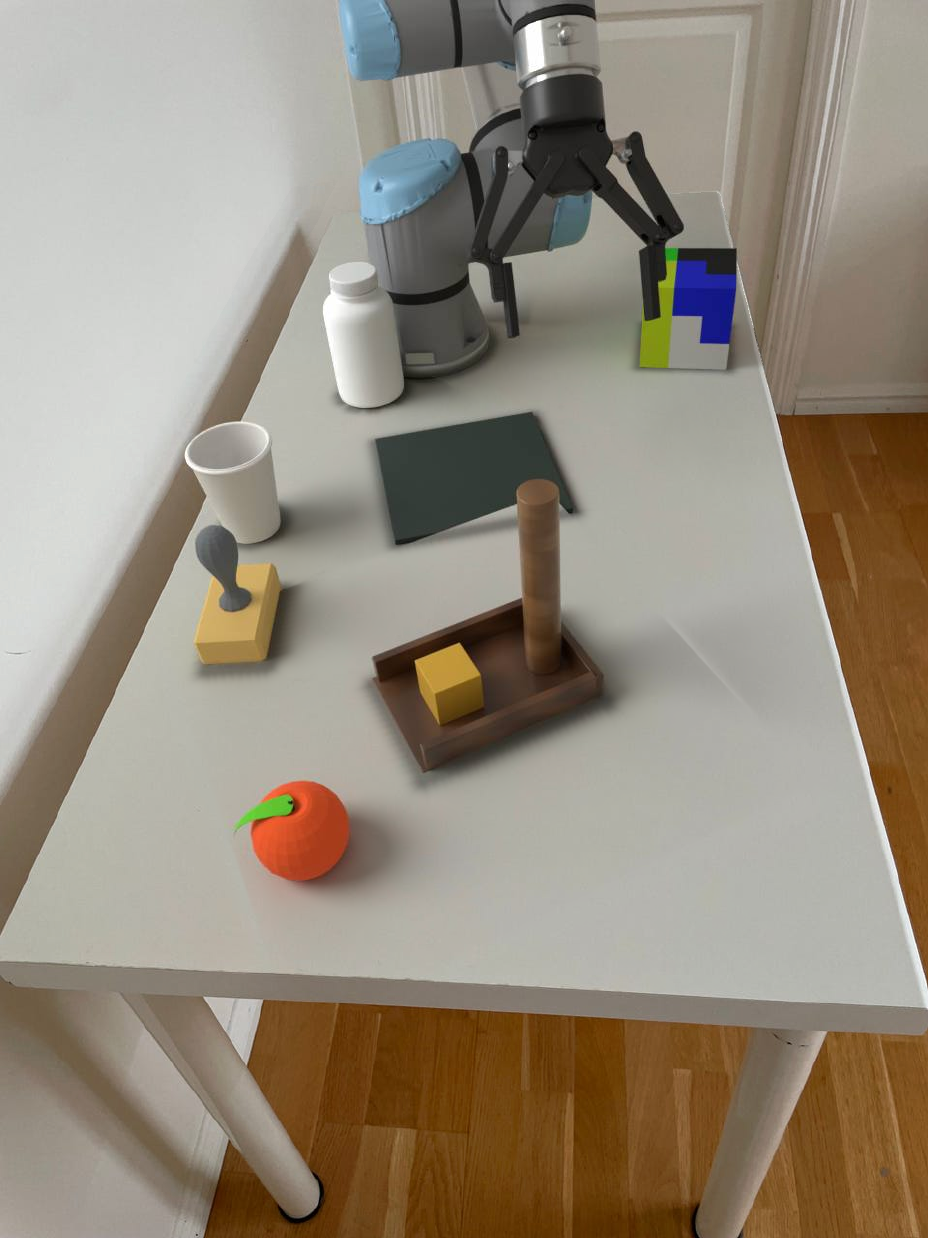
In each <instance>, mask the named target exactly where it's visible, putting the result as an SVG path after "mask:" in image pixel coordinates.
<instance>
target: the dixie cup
mask: <svg viewBox="0 0 928 1238" xmlns="http://www.w3.org/2000/svg"><path fill="white" fill-rule="evenodd" d="M272 446H273V438H272V435H271V433H270V431H269V430H268V429H267V428H265V427H264V426H262V425H260V424H257V423H254V422H250V421H229V422H224V423H220V424H216V425H214V426H211V427H209V428H207V429H205V430H203V431H201V432H200V433H199V434H197V435H196V436H195V437H193V438H192V440H190V442H189V443H188V445H187V447H186V449H185V452H184V459H185V462H186V464H187V465H188V467H190V469H192V470H193V472H194V475H195V477H196V478H197V480H198V483H199V485H200V486H201V488H202V490H203V492H204V494H205V496H206V498H207V499H208V502H209V504H210V505H211V507H212V509H213V511H214V512H215V515H216V516H217V518H218V520H219V522H220V524H221V526H223V527H224V528H226V529H227V530H229V531H230V532H231V533H232V534H233V535H234V537H235V539H236V542H237V544H242V545H243V544H244V545H250V544H257V543H260V542H263V541H266V540H267V539H270V538H271V537H273V535H275V534H276V533H277V531H278V530H279V529H280V528H281V521H282V520H281V511H280V503H279V498H278V491H277V483H276V475H275V467H274V460H273V459H274V458H273V453H272Z"/></svg>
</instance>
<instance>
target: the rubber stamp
mask: <svg viewBox="0 0 928 1238" xmlns="http://www.w3.org/2000/svg"><path fill="white" fill-rule="evenodd" d="M194 546H195V547H194V549H195V554H196V557H197V560H198V561H199V563H200V564H201V565H202V567H203V568H204V569H205V570H206V571H208V573H210V575H211V579H210V582H209V586H208V590H207V593H206V597H205V599H204V603H203V606H202V610H201V614H200V618H199V620H198V621H199V622H198V625H197V627H196V632H195V636H194V639H193V645H194V647H195V650H196V652H197V654H198V657H199V659H200V662H201V663H202V664H203V665H214V664H233V663H234V664H236V663H251V662H263V661H264V660H266V659H267V657H268V652H269V648H270V643H271V637H272V632H273V627H274V622H275V618H276V613H277V609H278V608H277V607H278V602H279V598H280V594H281V593H280V592H281V591H283V587H282V583H281V579H280V576H279V574H278V570H277V566H276V565H274V564H273V563H272V562H267V563H264V562H263V563H251V564H239V548H238V543H237V542H236V539H235V537H234V535H233V534H232V533H231V532H230V531H229V530H227V529H226V528H224V527H223V526H222V525H217V524H211V525H206V526H204V527H203V528H202V529H201V530H200V531H199V532H198V533H197V535H196V537H195V539H194Z"/></svg>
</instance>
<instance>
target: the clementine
mask: <svg viewBox="0 0 928 1238" xmlns="http://www.w3.org/2000/svg"><path fill="white" fill-rule="evenodd" d="M247 823H251V825H250V839H251V843H252V848H253V852H254V854H255V856H256V857H257V859H258V860H259V862H260V863H261V865H262V866H263V867H264V868H266V869H267V871H269V872H270V873H271V874H273V875H276V876H278V877H280V878H282V879H285V880H287V881H296V882H301V881H310V880H313V879H316V878H319V877H321V876H322V875H324V874H326V873H328V872H330V871H331V869H333V868H334V867H335V866H336V865H337V864H338V862H339V861H340V860H341V858H342V857H343V855H344V853H345V851H346V849H347V846H348V843H349V839H350V817H349V815H348V811H347V808H346V807H345V804H344V803H343V801H341V799H340V798H339V796H338V795H337V794H336V793H335V792H334V791H332V790H331V789H329V788H328V787H327V786H325V785H323V784H321V783H318V782H315V781H311V780H296V781H290V782H287V783H284V784H281V785H279V786H278V787H276V788H274V789H273V790H271V791H270V792H268V793H267V795H265V796H264V797H263V798H262V800H261V801H260V802H259V804H258V805H256V806H254V807H253V808H251V809H250V810H249V811H247V812H246V813H245V814H244V815H243V816H242V817H241V818H240V819H239V821H238V822H237V823H236V825H235V828H234V832H233V837H235V835H236V833H237V831H238V829H240V828H241V827H242V826H243V825H245V824H247Z"/></svg>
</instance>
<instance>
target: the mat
mask: <svg viewBox="0 0 928 1238" xmlns="http://www.w3.org/2000/svg"><path fill="white" fill-rule="evenodd" d="M374 441H375V445H376V452H377V455H378V461H379V466H380V472H381V477H382V481H383V486H384V493H385V497H386V502H387V507H388V513H389V517H390V518H389V519H390V523H391V528H392V534H393V538H394V544H395V545H400V544H407V543H412V542H417V541H419V540H423V539H425V538H429V537H431V536H434V535H437V534H439V533H441V532H444V531H447V530H449V529H452V528H455V527H458V526H461V525H463V524H466V523H470V522H471V521H474V520H477V519H480V518H483V517H485V516H489V515H491V514H494V513H496V512H500V511H501V510H504V509H507V508H510V507H513V506H515V505H517V489H518V488H519V486H520V485H521V484H523V483H524V482H526V481H529V480H533V479H545V480H549V481H551V482H553V483H554V484H556V486H557V487H558V489H559V506H560V505H561V507H562V508H563V509H564V510H565V511H566V512H567V513H568V514H573V512H574V508H573V506H572V503H571V500H570V498H569V496H568V493H567V490H566V488H565V486H564V484H563V481H562V479H561V477H560V475H559V472H558V469H557V468H556V465H555V463H554V461H553V457H552V455H551V453H550V451H549V448H548V446H547V444H546V441H545V439H544V437H543V434H542V432H541V430H540V427H539V425H538V422H537V420H536V418H535V415H534V413H533V411H529V412H528V411H527V412H522V413H516V414H510V415H505V416H499V417H493V418H488V419H481V420H476V421H470V422H464V423H459V424H452V425H447V426H442V427H435V428H430V429H424V430H418V431H413V432H406V433H401V434H395V435H388V436H383V437H378V438H375V440H374Z"/></svg>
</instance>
